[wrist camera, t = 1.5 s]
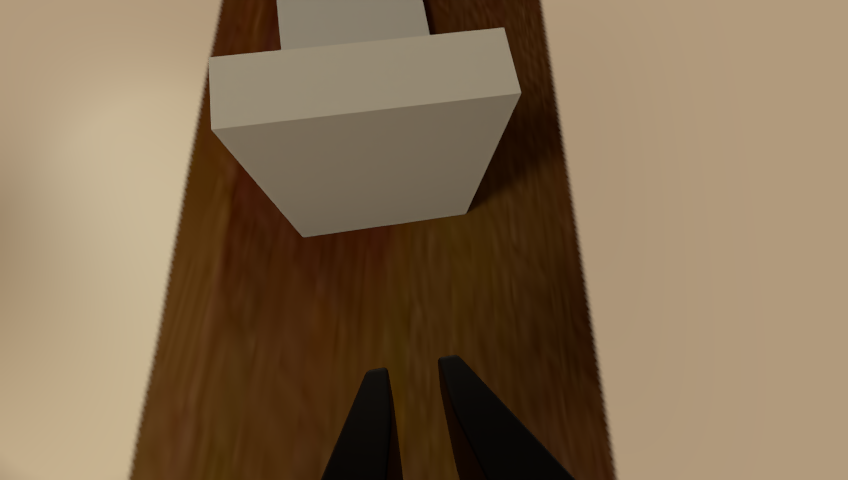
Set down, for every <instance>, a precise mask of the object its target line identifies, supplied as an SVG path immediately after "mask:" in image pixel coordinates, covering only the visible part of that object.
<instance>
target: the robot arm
mask: <svg viewBox="0 0 848 480" xmlns="http://www.w3.org/2000/svg"><path fill="white" fill-rule="evenodd" d="M438 369H439V380H440V389H441V395H442V400H443V405H444V410H445V415H446V420H447V425H448V430H449V435H450V440H451V444H452V449H453V454H454V459H455V463H456V467H457V471H458V475H459V478H460V480H575V479H574V478H573V477H572V476H571V474H570V473H569V472H568V471H567V470H566V469H565V468H564V467H563V466H562V465H561V464H560V463H559V462H558V461H557V460H556V459H555V457H554V456H553V455H552V454H551V453H550V452H549V451H548V450H547V449H546V448H545V447H544V446H543V445H542V444H541V443H540V442H539V441H538V439H537V438H536V437H535V436H534V435H533V434H532V433H531V432H530V431H529V430H528V429H527V428H526V427H525V426H524V425H523V424H522V423H521V421H520V420H519V419H518V418H517V417H516V416H515V415H514V414H513V413H512V412H511V411H510V410H509V409H508V408H507V407H506V406H505V405H504V403H503V402H502V401H501V400H500V399H499V398H498V397H497V396H496V395H495V394H494V393H493V392H492V391H491V390H490V389H489V388H488V387H487V385H486V384H485V383H484V382H483V381H482V380H481V379H480V378H479V377H478V376H477V375H476V374H475V373H474V372H473V371H472V370H471V368H470V367H469V366H468V365H467V364H466V363H465V362H464V361H463V360H462V359H461V358H460V357H459V356H457V355H451V356H446V357H441V358H439V360H438ZM321 480H403V475H402V465H401V457H400V450H399V442H398V434H397V426H396V418H395V410H394V402H393V396H392V390H391V385H390V379H389V374H388V370H387V369H386V368H379V369H373V370H369V371H368V372H367V373H366V374H365V376H364V379H363V381H362V384H361V386H360V388H359V391H358V393H357V395H356V398H355V400H354V402H353V405H352V407H351V410H350V412H349V414H348V417H347V419H346V421H345V424H344V426H343V428H342V431H341V433H340V436H339V438H338V440H337V443H336V445H335V447H334V450H333V452H332V454H331V457H330V459H329V462H328V464H327V466H326V469H325V471H324V473H323V476H322V478H321Z"/></svg>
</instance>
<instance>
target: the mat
mask: <svg viewBox="0 0 848 480" xmlns="http://www.w3.org/2000/svg"><path fill="white" fill-rule="evenodd" d="M277 8H278V19H279V30H280V41H281V50H289V49H299V48H308V47H318V46H328V45H338V44H348V43H358V42H368V41H377V40H387V39H397V38H407V37H417V36H427V35H430V34H429V29H428V24H427V19H426V14H425V9H424V5H423V0H277Z"/></svg>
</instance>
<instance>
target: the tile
mask: <svg viewBox="0 0 848 480" xmlns="http://www.w3.org/2000/svg"><path fill="white" fill-rule="evenodd" d="M209 80H210V107H211V130H212V131H213V132H214V133H215V134H216V136H217V137H218V138H219V139H220V140H221V141H222V143H223V144H224V145H225V146H226V147H227V149H228V150H229V151H230V152H231V153H232V154H233V156H234V157H235V158H236V159H237V160H238V161H239V163H240V164H241V165H242V166H243V167H244V169H245V170H246V171H247V172H248V173H249V174H250V176H251V177H252V178H253V179H254V180H255V181H256V183H257V184H258V185H259V186H260V187H261V189H262V190H263V191H264V192H265V193H266V194H267V196H268V197H269V198H270V199H271V200H272V201H273V203H274V204H275V205H276V206H277V207H278V209H279V210H280V211H281V212H282V213H283V214H284V216H285V217H286V218H287V219H288V220H289V221H290V223H291V224H292V225H293V226H294V227H295V228H296V230H297V231H298V232H299V233H300V234H301V236H302V237H309V236H316V235H323V234H330V233H337V232H344V231H351V230H358V229H364V228H371V227H378V226H385V225H392V224H399V223H406V222H413V221H420V220H427V219H433V218H440V217H447V216H454V215H461V214H466V212H467V210H468V208H469V206H470V204H471V202H472V199H473V197H474V195H475V193H476V191H477V188H478V186H479V184H480V182H481V180H482V178H483V175H484V173H485V171H486V169H487V167H488V164H489V162H490V160H491V158H492V156H493V154H494V151H495V149H496V147H497V145H498V143H499V140H500V138H501V136H502V134H503V132H504V130H505V127H506V125H507V123H508V121H509V119H510V117H511V114H512V112H513V110H514V108H515V106H516V103H517V101H518V99H519V97H520V95H521V90H520V87H519V83H518V79H517V75H516V71H515V68H514V64H513V60H512V56H511V53H510V49H509V45H508V41H507V38H506V34H505V30H504V28H496V29H486V30H476V31H466V32H456V33H446V34H437V35H427V36H417V37H407V38H397V39H387V40H377V41H368V42H358V43H348V44H338V45H328V46H318V47H308V48H299V49H289V50H279V51H269V52H259V53H249V54H239V55H230V56H220V57H210V58H209Z"/></svg>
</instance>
